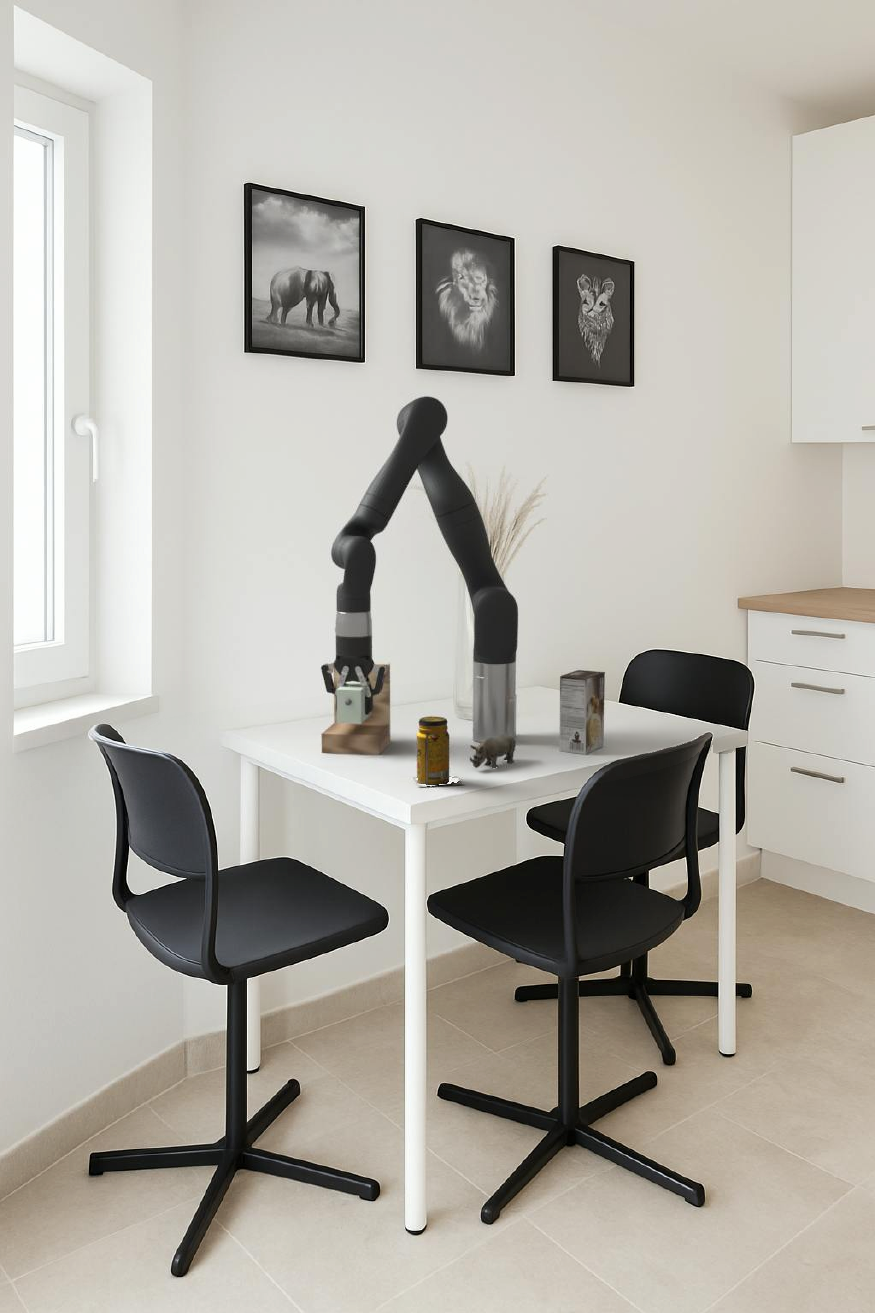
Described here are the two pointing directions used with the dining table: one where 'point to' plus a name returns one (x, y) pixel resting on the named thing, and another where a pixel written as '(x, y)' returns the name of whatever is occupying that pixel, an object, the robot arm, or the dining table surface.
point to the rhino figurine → (494, 750)
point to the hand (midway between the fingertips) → (354, 713)
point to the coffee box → (581, 711)
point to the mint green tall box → (351, 703)
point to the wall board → (374, 699)
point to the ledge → (355, 738)
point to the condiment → (433, 752)
